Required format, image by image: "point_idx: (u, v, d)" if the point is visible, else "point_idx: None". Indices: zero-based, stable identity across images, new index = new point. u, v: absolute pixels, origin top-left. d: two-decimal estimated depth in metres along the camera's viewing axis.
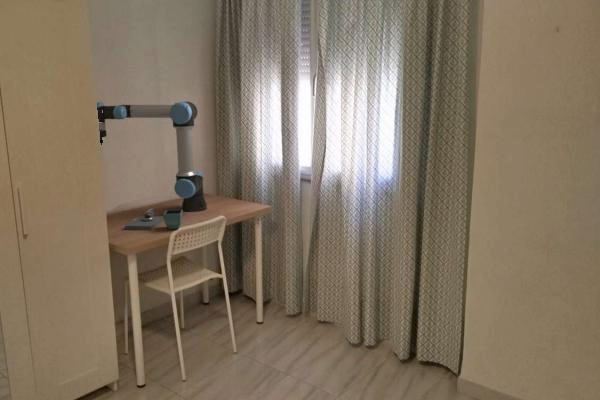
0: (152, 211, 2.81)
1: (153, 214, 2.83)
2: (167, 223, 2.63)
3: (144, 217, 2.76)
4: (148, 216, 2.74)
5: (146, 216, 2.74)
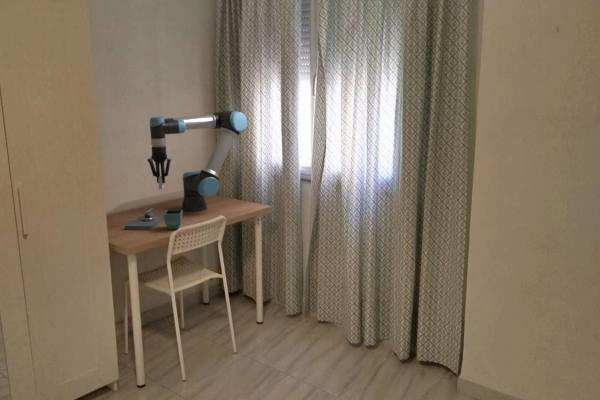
0: (152, 211, 2.81)
1: (153, 214, 2.83)
2: (167, 223, 2.63)
3: (144, 217, 2.76)
4: (148, 216, 2.74)
5: (146, 216, 2.74)
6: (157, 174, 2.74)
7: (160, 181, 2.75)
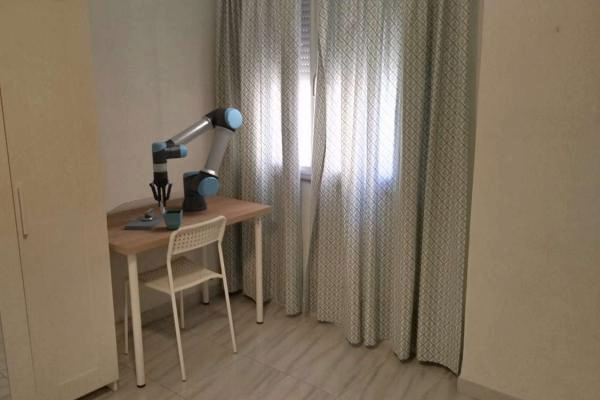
0: (152, 211, 2.81)
1: (153, 214, 2.83)
2: (167, 223, 2.63)
3: (144, 217, 2.76)
4: (148, 216, 2.74)
5: (146, 216, 2.74)
6: (159, 198, 2.77)
7: (161, 205, 2.78)
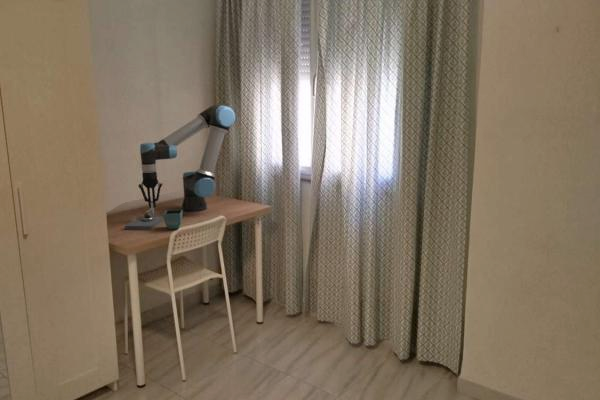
0: None
1: (152, 214, 2.83)
2: (167, 223, 2.63)
3: (144, 217, 2.76)
4: (148, 216, 2.74)
5: (146, 216, 2.74)
6: (149, 199, 2.77)
7: (151, 206, 2.78)
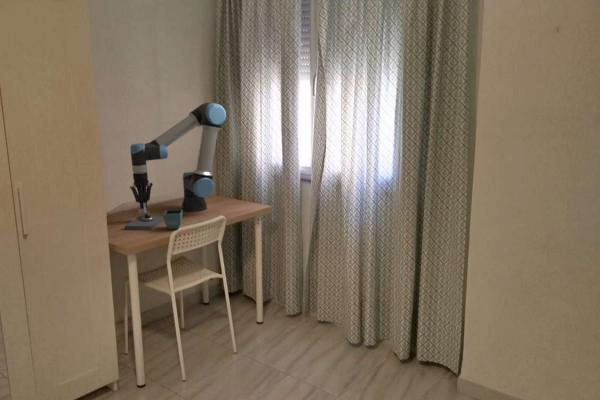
0: None
1: None
2: (167, 223, 2.63)
3: (144, 218, 2.74)
4: None
5: (148, 216, 2.74)
6: (142, 200, 2.76)
7: (144, 206, 2.78)
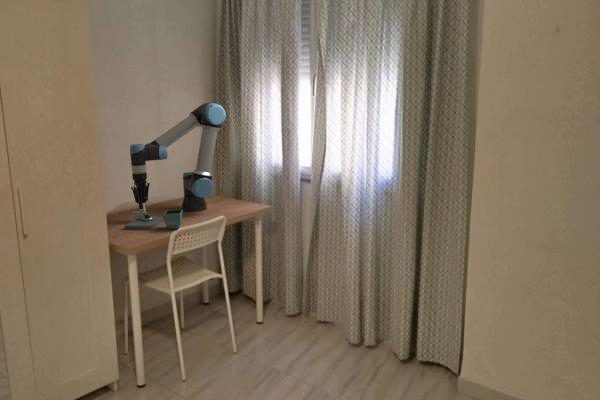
0: None
1: None
2: (167, 223, 2.63)
3: (145, 218, 2.74)
4: None
5: (149, 215, 2.75)
6: (142, 200, 2.77)
7: (144, 206, 2.79)
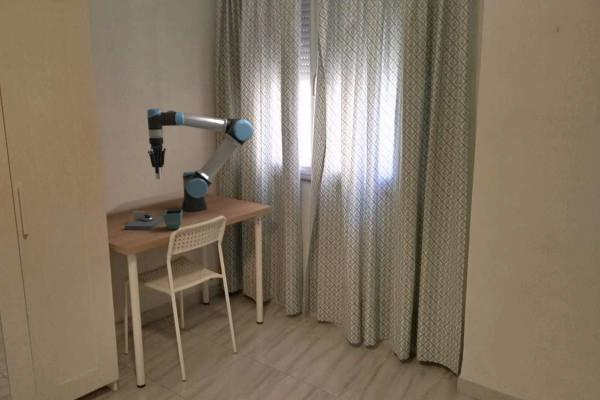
0: None
1: None
2: (167, 223, 2.63)
3: (145, 218, 2.74)
4: None
5: (149, 215, 2.75)
6: (158, 164, 2.81)
7: (160, 171, 2.83)
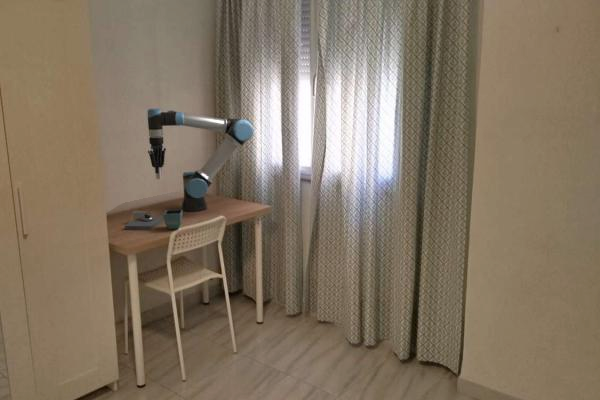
0: None
1: None
2: (167, 223, 2.63)
3: (145, 218, 2.74)
4: None
5: (149, 215, 2.75)
6: (158, 164, 2.81)
7: (160, 171, 2.83)
